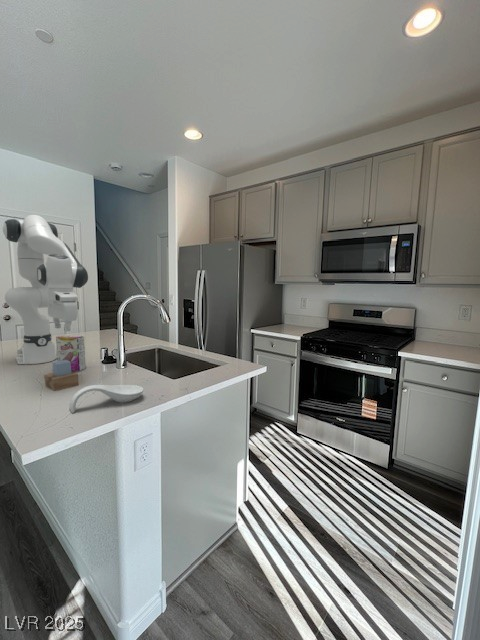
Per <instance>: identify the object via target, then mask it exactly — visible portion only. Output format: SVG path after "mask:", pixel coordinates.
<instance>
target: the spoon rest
mask: <svg viewBox="0 0 480 640" xmlns="http://www.w3.org/2000/svg"><path fill="white" fill-rule="evenodd" d="M92 391H96V392H101V393H103V394H104V395H106V396H107V397H109V398H110V399H112V400H114V401H115V402H117V403H118V404H123V403H129V402H133V401H135V400H136V399H138V398H140V397H141V395H142V394H143V392H144V388H143V387H142V386H140V385H136V384H119V385H118V384H117V385H116V384H115V385H113V384H112V385H109V384H107V385H106V384H93V385H92V384H91V385H87V386H84V387H82V388H81V389H78V390H77V391H76V392H75V393H74V394H73V395H72V397H71V399H70V402H69V410H70V412H71V413H72V414H74V413H75V412H76V406H77V402H78V400H79V398H80V397H82V396H83V395H84V394H86V393H89V392H92Z"/></svg>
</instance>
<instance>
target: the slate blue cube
mask: <svg viewBox="0 0 480 640" xmlns="http://www.w3.org/2000/svg"><path fill="white" fill-rule="evenodd" d="M51 362H52V373H53V374H54V375H55V376H57V377H58V376H63V375H68V374H71V362H70V361H68V360H61V361H58V360H57V361H55V360H54V361H51Z"/></svg>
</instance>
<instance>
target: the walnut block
mask: <svg viewBox="0 0 480 640" xmlns="http://www.w3.org/2000/svg"><path fill="white" fill-rule="evenodd" d="M44 382H45V383H44V385H45V387H46V388H48V389H50V390H51V391H53V392H57V391H61V390H65V389H69V388H73V387H77V386H79V385H80V380H79V373H77V372H76V371H71V374H68V375H63V376H58V377H57V376H55V375H54V374H53V372H51V373H45V374H44Z"/></svg>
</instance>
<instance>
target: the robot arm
mask: <svg viewBox="0 0 480 640" xmlns="http://www.w3.org/2000/svg"><path fill="white" fill-rule="evenodd" d="M2 232H3V235H4V237H5V239H6V240H7V241H10V242H11V243H17V248H16V249H17V250H16V251H17V252H16V254H17V265H18V273H19V276H20V277H21V278H23V279H25V280H27V281H28V282H29V283H30V284H31V286H18V287H13V288H9V289H8V290H7V291H6V292H5V295H4V302H5V303H6V304H7V306H8V307H10V308H11V309H12V310H15V311H16V312H17V314H18V315H19V317H20V318H21V321H22V323H23V331H24V335H23V340H22V341H23V344H22V346H21V347H20V348H19V349H17V350H16V351H17V352H16V353H17V355H19V356H16V357H15V360H16V363H17V365H36V364H44V363H49V362H54V361H55V360H58V359H57V349H56V343H55V342H53V341H52V333H51V329H50V320H49V318H48V317H50V318H52V321H53V323H54V328H55V329H57V330H58V329H61V328H62V327H61V326H62V325H61V324H62V323H61V322H60V320H62V321H63V322H64V326H63V331H64V332H71V325H72V322H75V321H77V320H78V319H77V318H78V301H79V297H78V295H77V294H76V293H75V291H74V288H79V289H81V288H82V287H83V286H85V285H86V284H87V283H88V280H89V275H88V273H89V272H88V271H87V269H86V267H84V266H83V265H82V264H81V263H80V262H79V259H77V257H76V255H75V254H74V253H73V251H72V250H71V249H70V247H69V246H68V245H67V243H65V242H64V241H62V240H61V239H59V231H58V228H57V227H56V225H55V224H53V223H49V222H48V221H47V220H46V219H45V218H44V217H42V216H40V215H39V214H29V215H27V216H26V217H24V218H23V219H14V218H12V219H11V218H10V219H7V220H6V221H5V220H4V223H3V226H2ZM44 255H47V257H46V262H45V257H44ZM42 308H43V309H45V308H47V315H48V317H46V316H45V315H43V314H41V313H40V312H39V310H38V309H42Z"/></svg>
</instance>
